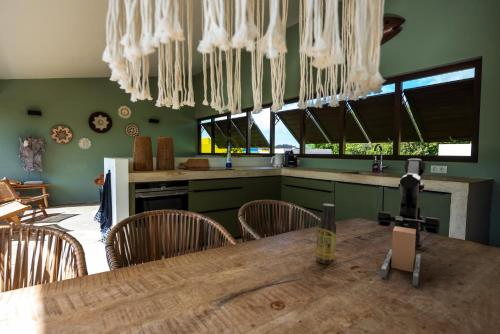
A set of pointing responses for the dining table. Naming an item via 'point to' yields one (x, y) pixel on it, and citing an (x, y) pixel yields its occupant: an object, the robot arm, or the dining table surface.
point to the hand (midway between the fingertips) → (404, 243)
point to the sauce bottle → (326, 236)
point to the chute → (388, 262)
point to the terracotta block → (403, 248)
